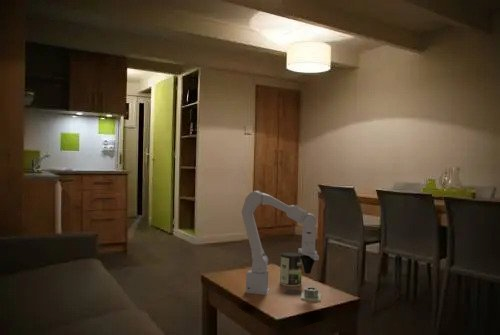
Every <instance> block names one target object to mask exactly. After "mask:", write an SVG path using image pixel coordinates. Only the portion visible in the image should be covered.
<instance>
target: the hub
mask: <svg viewBox="0 0 500 335" xmlns="http://www.w3.org/2000/svg"><path fill="white" fill-rule="evenodd" d="M309 290H313V289H309ZM300 300H301V301H307V302H308V301H309V302H317V303H318V302H319V303H321V300H322V293H319V292H318V297H317V298H307V297H305V296H304V291H302V292H301V295H300Z"/></svg>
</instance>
